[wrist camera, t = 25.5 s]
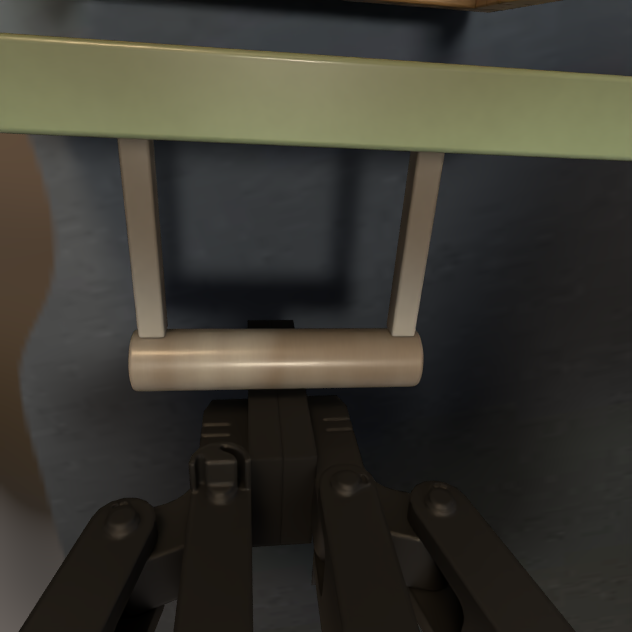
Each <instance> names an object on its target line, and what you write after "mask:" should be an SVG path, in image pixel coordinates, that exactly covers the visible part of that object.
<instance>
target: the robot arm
mask: <svg viewBox="0 0 632 632" xmlns="http://www.w3.org/2000/svg"><path fill="white" fill-rule="evenodd" d="M248 329H295V328H294V322H293V320H252V321H248ZM189 476H190V489H189V490H188V491H187V492H186V493H185V494H184V495H183V496H181V497H179V498H178V499H176V500H174V501H171V502H169V503H166V504H163V505H160V506H157V507H152V506H151V505H150V504H149V503H148V502H147V501H145V500H141V499H138V498H122V499H119V500H116V501H112V502H110V503H108V504H107V505H105V506H103V507H102V508H100V509H99V510H98V511H97V512H96V513H95V515H94V516H93V517H92V518H91V519H90V521H89V522H88V524H87V526H86V527H85V529H84V530H83V532H82V533H81V535H80V537H79V538H78V540H77V541H76V543H75V544H74V546H73V548H72V549H71V551H70V552H69V554H68V555H67V557H66V558H65V560H64V562H63V563H62V565H61V566H60V568H59V569H58V571H57V573H56V574H55V576H54V577H53V579H52V580H51V582H50V583H49V585H48V587H47V588H46V590H45V591H44V593H43V594H42V596H41V598H40V599H39V601H38V602H37V604H36V606H35V607H34V609H33V610H32V612H31V613H30V615H29V617H28V618H27V620H26V621H25V623H24V624H23V626H22V627H21V629H20V630H19V632H154V631H155V629H156V626H157V624H158V621H159V619H160V616H161V614H162V611H163V609H164V604H167V603H169V602H172V601H174V600H177V599H178V600H177V608H176V616H175V624H174V632H253V593H252V547H260V546H275V545H290V544H305V543H311V540H312V535H313V543H314V557H313V571H312V584H311V585H316V590H317V598H318V606H319V614H320V621H321V629H322V632H420V630H419V627H418V624H419V626H420V628H421V629H422V631H423V632H575V630H574V629H573V628H572V627H571V625H570V624H569V623H568V622H567V620H566V619H565V618H564V617H563V616H562V614H561V613H560V612H559V611H558V609H557V608H556V607H555V606H554V604H553V603H552V602H551V601H550V600H549V598H548V597H547V596H546V595H545V593H544V592H543V591H542V590H541V588H540V587H539V586H538V585H537V584H536V582H535V581H534V580H533V579H532V577H531V576H530V575H529V574H528V572H527V571H526V570H525V569H524V568H523V566H522V565H521V564H520V563H519V561H518V560H517V559H516V558H515V556H514V555H513V554H512V553H511V552H510V550H509V549H508V548H507V547H506V545H505V544H504V543H503V542H502V540H501V539H500V538H499V537H498V536H497V534H496V533H495V532H494V531H493V529H492V528H491V527H490V526H489V524H488V523H487V522H486V521H485V520H484V518H483V517H482V516H481V515H480V513H479V512H478V511H477V510H476V508H475V507H474V506H473V505H472V504H471V502H470V501H469V500H468V499H467V497H466V496H465V495H464V494H463V493H462V492H461V491H459V490H458V489H457V488H456V487H454V486H452V485H449V484H447V483H444V482H439V481H424V482H422V483H420V484H418V485H416V486H415V488H414V489H413V490H412V492H411V493H407V492H403V491H398V490H393V489H390V488H387V487H384V486H382V485H380V484H378V483H377V482H375V481H374V479H373V477H372V475H371V474H370V473H369V472H367V471H366V470H365V468H364V466H363V462H362V459H361V455H360V452H359V448H358V445H357V441H356V438H355V434H354V431H353V427H352V424H351V421H350V417H349V413H348V410H347V406H346V405H345V404H344V403H343V402H342V401H341V400H340V399H339V398H338V396H337V395H327V396H306V390H305V388H297V389H248V399H228V400H212V401H211V403H210V404H209V405H208V407H207V408H206V409H205V411H204V414H203V422H202V431H201V439H200V448H199V449H198V450H197V451H196V452H195V453H194V454H193V455H192V456H191V459H190V461H189ZM417 622H418V624H417Z"/></svg>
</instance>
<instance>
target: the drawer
mask: <svg viewBox="0 0 632 632" xmlns="http://www.w3.org/2000/svg"><path fill="white" fill-rule="evenodd" d="M343 1H355V2H367V3H379V4H391V5H403V6H415V7H426V8H438V9H450V10H462V11H474V12H486V13H489V12H495V11H502V10H508V9H514V8H520V7H526V6H532V5H538V4H544V3H549V2H555V1H561V0H343ZM0 133H13V134H34V135H57V136H79V137H101V138H117V141H118V150H119V160H120V169H121V178H122V188H123V197H124V206H125V216H126V225H127V235H128V244H129V253H130V263H131V272H132V281H133V291H134V300H135V310H136V319H137V328H138V329H137V330H135V331H134V332H133V335H132V337H131V341H130V346H129V356H128V369H129V378H130V383H131V386H132V388H133V389H134V390H135V391H184V390H240V389H297V388H353V387H410V386H415V385H417V384H418V383H419V381H420V379H421V376H422V371H423V347H422V342H421V339H420V336H419V334H418V332H417V331H416V330H415V328H416V322H417V316H418V310H419V304H420V298H421V292H422V286H423V280H424V274H425V268H426V262H427V256H428V250H429V244H430V238H431V232H432V226H433V220H434V214H435V208H436V202H437V196H438V190H439V184H440V178H441V172H442V166H443V160H444V154H445V153H457V154H480V155H502V156H524V157H547V158H569V159H591V160H613V161H632V76H620V75H605V74H591V73H576V72H562V71H547V70H533V69H518V68H504V67H489V66H475V65H460V64H446V63H431V62H417V61H402V60H387V59H373V58H358V57H344V56H329V55H315V54H300V53H286V52H271V51H257V50H242V49H228V48H213V47H199V46H184V45H170V44H155V43H141V42H126V41H112V40H97V39H83V38H68V37H54V36H39V35H25V34H10V33H0ZM153 140H168V141H190V142H212V143H235V144H257V145H279V146H302V147H324V148H346V149H368V150H391V151H411V152H410V160H409V167H408V174H407V181H406V189H405V196H404V203H403V210H402V218H401V225H400V232H399V239H398V247H397V254H396V261H395V269H394V276H393V283H392V290H391V298H390V305H389V312H388V319H387V327H388V328H305V329H167V326H168V324H167V311H166V298H165V285H164V272H163V259H162V246H161V233H160V220H159V207H158V194H157V181H156V168H155V155H154V142H153Z"/></svg>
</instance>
